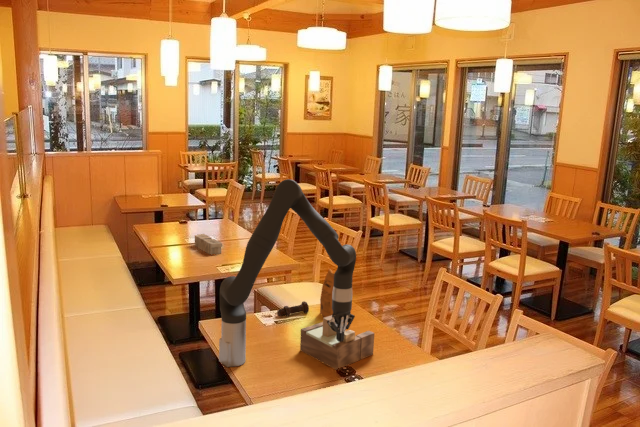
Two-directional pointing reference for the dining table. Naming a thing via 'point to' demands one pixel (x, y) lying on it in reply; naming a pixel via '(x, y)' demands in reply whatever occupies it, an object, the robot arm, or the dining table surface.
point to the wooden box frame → (337, 348)
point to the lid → (324, 333)
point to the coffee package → (327, 295)
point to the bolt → (293, 309)
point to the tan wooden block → (349, 336)
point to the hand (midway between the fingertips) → (340, 340)
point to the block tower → (208, 244)
